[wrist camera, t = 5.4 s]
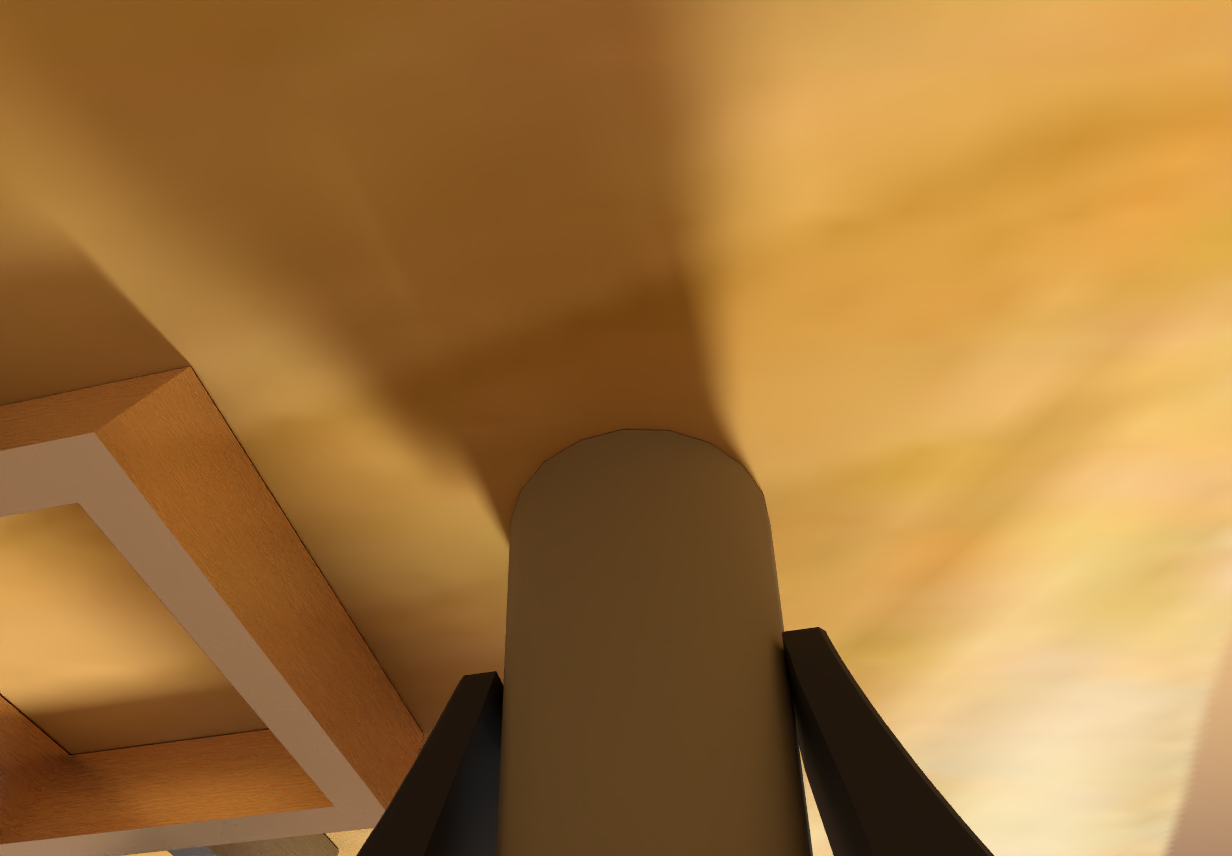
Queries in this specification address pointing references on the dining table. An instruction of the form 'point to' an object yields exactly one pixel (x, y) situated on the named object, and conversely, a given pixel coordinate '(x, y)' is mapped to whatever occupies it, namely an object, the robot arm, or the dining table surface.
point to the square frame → (199, 643)
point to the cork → (646, 660)
